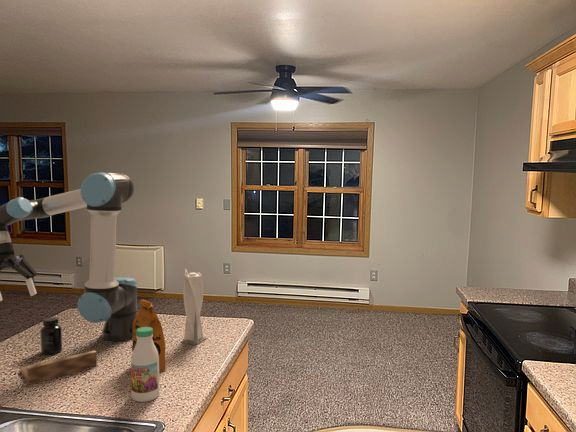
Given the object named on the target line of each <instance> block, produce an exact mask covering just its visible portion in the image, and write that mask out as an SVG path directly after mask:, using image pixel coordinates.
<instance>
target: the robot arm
mask: <svg viewBox="0 0 576 432" xmlns="http://www.w3.org/2000/svg"><path fill="white" fill-rule="evenodd" d="M80 185H81V186H80V188H78V189H75V190H70V191H67V192H62V193H58V194H54V195H49V196H46V197H42V198H38V199H30V200H29V199H27V198H24V197H22V196H18V197H16V198H14V199H11V200H9V201H8V202H6V203H3V204H2V205H0V272H1V271H2V270H10V269H12V270H15V271H16V272H17V273H18V274H20V275H21V276H23V278H25V283H26V287H27V289H28V293H29V295H30V297H32V296H33V297H34V296H35V295H36V294H38V293H37V289H36V282H35V279H34V278H35V277H37V276H38V272H37V271H36V270H35V269H34V268H33V267H32V266H31V265H30V263H29V262H28V261H27V260H26V259H25V256H24V255H23V254H20V255H18V256H17V255H16V254H15V247H14V245H13V243H12V239H11V235H10V233H9V229H8V226H10V225H12V224H15V223H16V222H19V221H27V220H35V219H44V218H45V219H46V218H48V217H52V216H54V215H57V214H58V215H59V214H63V213H66V212H72V211H75V210H79V209H83V208H86V211H87V212H88V213H89V214H90V242H89V244H90V248H89V253H90V254H89V279H88V281H86V282H85V283H84V291H83V292H84V293H83V294H81V296H80V297H79V299H78V300H77V310H78V313H79V315H80V316H81V317H82V318H83V319H84V320H85V321H87V322H89V323H92V324H99V323H101V322H104V323H103V327H102V329H101V336H102V337H101V338H103V339H104V340H106V341H113V342H118V341H119V342H121V341H128V340H132V338H133V321H134V319H135V317H136V315H137V313H138V285H137V280H136V279H135V278H134V277H123V276H122V277H121V276H119V277H118V276H117V277H116V256H117V255H116V252H117V251H116V249H117V248H116V247H117V219H118V218H117V217H118V215H119V214H120V213H121V212H122V206H123V205H122V204H124V203H127V202H128V201H130V199H132V197H133V196H134V193H135V183H134V181H133V180H132V178H131V177H130V176H128V175H127V174H124V173H122V172H103V171H102V172H100V171H99V172H95V173H91V174H89V175H88V176H87V177H85V178H84V180H83V181H82V183H81V184H80ZM2 301H3V295H2V293H1V292H0V302H2Z"/></svg>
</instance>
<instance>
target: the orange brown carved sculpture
mask: <svg viewBox="0 0 576 432" xmlns="http://www.w3.org/2000/svg"><path fill="white" fill-rule="evenodd" d="M138 304H139V305H140V307H139V310H138V311H137V315H136V317H135V319H134V321H133V338H132V339H131V340H132V346H131V352H132V353H133V350H134V348H135V346H136V343H137V338H136V330H137V329H138V328H141V327H151V328H152V329H153V336H152V340H153V343H154V345H155V347H156V349H157V351H158V356H159V373H161V372H164V371H166V362H167V361H166V340H165V339H166V338H165V335H164V330H163V327H162V326H163V325H162V323H161V321H160V319H159V316H158V315H157V313H156V311H155V307H154V306H153V303H152V302H150V301H148V300H145V299H141V300H140V301H139V303H138Z"/></svg>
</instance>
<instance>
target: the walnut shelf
mask: <svg viewBox="0 0 576 432" xmlns="http://www.w3.org/2000/svg"><path fill="white" fill-rule="evenodd" d="M97 363H98V361H97V351H96V350H90V351H87V352H86V351H85V352H80V353H77V354H72V355H67V356H64V357H59V358H54V359H51V360H48V361H43V362H39V363H35V364H31V365H27V366H21V367H20V369H19V370H20V373H21V374H22V376H23V378H24V379H25V381H26V382H27V384H28V385H33V384H35V383H36V384H37V383H39V382H43V381H47V380H51V379H55V378H58V377H59V378H60V377H61V376H66V375H70V374H73V373H78V372H81V371H85V370H89V369H93V368H97V367H98V365H97Z"/></svg>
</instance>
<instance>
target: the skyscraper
mask: <svg viewBox="0 0 576 432" xmlns="http://www.w3.org/2000/svg"><path fill="white" fill-rule="evenodd" d="M203 286H204V285H203V276H202V273H201V272H200V271H198V272H188V269H187V268H184V280H183V295H182V296H183V305H184V311H185V316H186V317H185V318H186V319H185V325H184V326H185V327H184V335H183V339H182V340H180V342H181V343H183V344H187V345H188V344H189V345H194V346H198V345H200V344H201V343H202V342H204V341H206V340H207V337H204V333H203V326H202V324H203V323H202V320H201V312H202V305H203V299H204V287H203Z"/></svg>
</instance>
